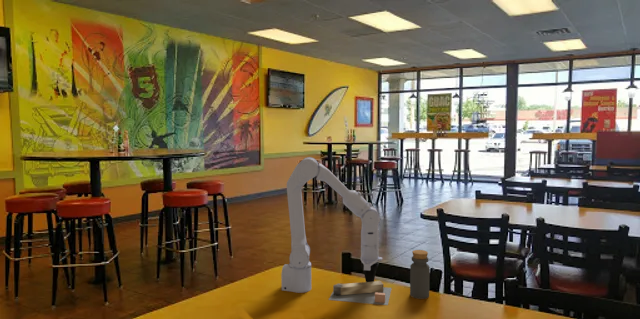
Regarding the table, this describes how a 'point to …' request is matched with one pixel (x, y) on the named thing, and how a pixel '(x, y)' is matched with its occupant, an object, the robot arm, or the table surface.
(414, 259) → the bottle
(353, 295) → the stool seat
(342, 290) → the stool leg
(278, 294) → the table surface
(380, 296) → the leg stop
